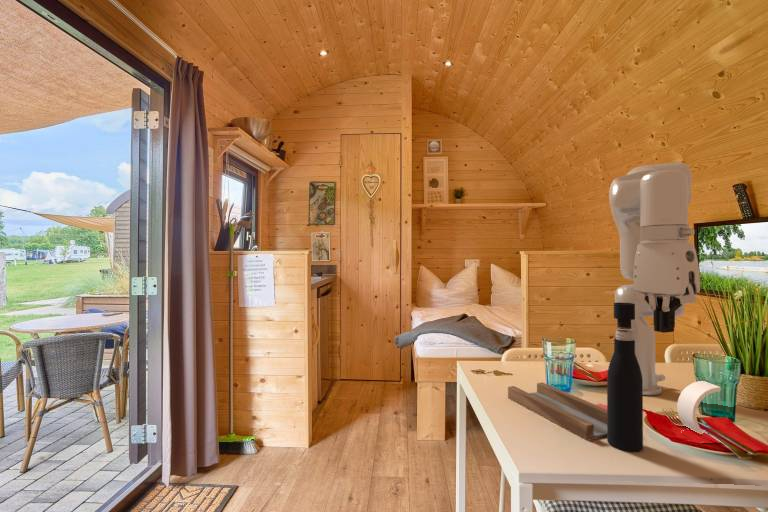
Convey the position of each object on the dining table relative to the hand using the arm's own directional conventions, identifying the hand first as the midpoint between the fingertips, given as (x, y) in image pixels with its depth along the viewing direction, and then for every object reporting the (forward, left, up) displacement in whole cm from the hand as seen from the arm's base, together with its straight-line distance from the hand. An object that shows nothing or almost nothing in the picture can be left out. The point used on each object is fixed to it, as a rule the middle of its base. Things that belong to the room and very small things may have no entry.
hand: (664, 331), depth 76 cm
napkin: (-11, -22, -26) cm, 36 cm away
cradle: (0, -26, -26) cm, 37 cm away
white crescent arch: (-18, -5, -26) cm, 32 cm away
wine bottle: (0, -8, -26) cm, 27 cm away
